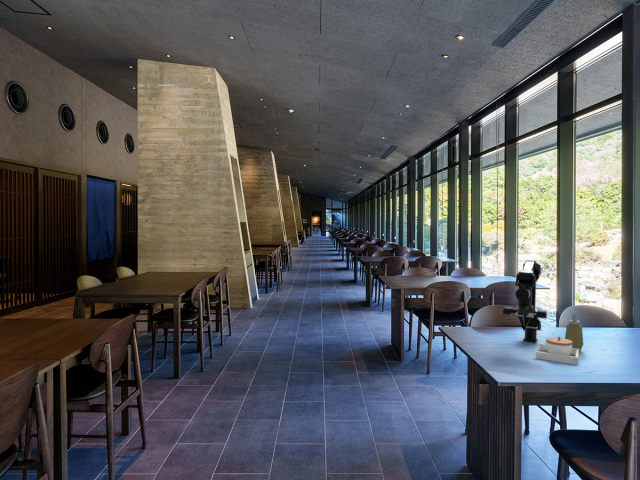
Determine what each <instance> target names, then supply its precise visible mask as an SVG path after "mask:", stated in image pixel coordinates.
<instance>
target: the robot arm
mask: <svg viewBox="0 0 640 480" xmlns="http://www.w3.org/2000/svg"><path fill="white" fill-rule="evenodd" d="M541 275H542V266H541V264H539V263H538V262H537V260H534V259H532V260H531V259H526V260H525V261H524V263H523V264H522V269H520V270H519V271H518V273H516V276H515V283H514V286H515V287H518V289H516V290H515V294H514V296H515V297H516V299H517V300H518V302H517V306H516V308H515V309H514V307H512V306H511V307H509V306H505V307H503V309H502V314H503V315H509V316H510V315H511V314H515V318H518V320H519V322H520V325H521V329H522V330H523V331H524V337H523V339H522V340H523V341H524V342H532V343H537V342H538V340H539V339H538V338H537V337H538V336H537V335H538V333H537V332H538V331H542V321H541V320H540V319H547V318H548V311H546V310H541V309H537V310H536V301H537V297H536V296H537V295H536V294H537V282H538V280H539V279H540V277H541Z"/></svg>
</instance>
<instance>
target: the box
mask: <svg viewBox="0 0 640 480" xmlns="http://www.w3.org/2000/svg"><path fill="white" fill-rule="evenodd" d="M571 355H572V356H571ZM535 359H538V360H546V361H552V362H559V363H566V364H572V365H577V366H578V364H579V359H580V351H579V349H577V348H572V351H571V353H570V355H569V356H567V355H560V354H553V353H549V352H548V351H547V347H546V343H539V351H538V350H535Z"/></svg>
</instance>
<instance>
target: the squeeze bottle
mask: <svg viewBox="0 0 640 480" xmlns="http://www.w3.org/2000/svg"><path fill="white" fill-rule="evenodd" d="M564 339H568V340H571V341H572V342H573V344H572V348H577V349H579V352H581V351H582V350H583V349H582V348H583V346H584V334H583V327H582V325H581V322H580V320H578V317H577V313H576V312H573V313H572V317H571V319H569V320H568V324H566V329H565V336H564Z"/></svg>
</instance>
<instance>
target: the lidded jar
mask: <svg viewBox="0 0 640 480" xmlns="http://www.w3.org/2000/svg"><path fill="white" fill-rule="evenodd" d="M545 342H546V343H545V344H546V347H547V351H546V352H547V353H553V354H560V355H567V356H571V354H570V353H571V351H572V344H573V342H572V341H571V340H568V339H565V337H564V338H563V337H561V336H557V337H553V336H552V337H547V338H546V339H545Z"/></svg>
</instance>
